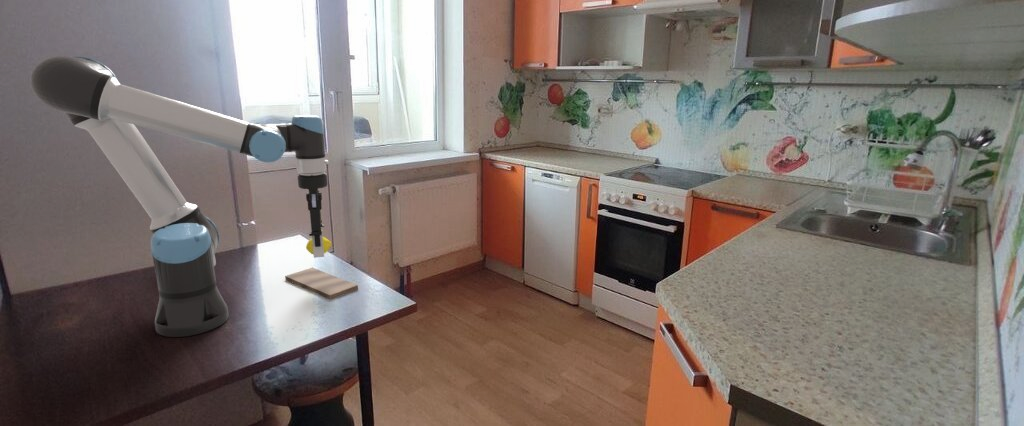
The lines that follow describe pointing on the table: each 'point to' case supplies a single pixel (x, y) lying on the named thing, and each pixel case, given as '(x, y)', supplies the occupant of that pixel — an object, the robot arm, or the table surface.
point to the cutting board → (321, 283)
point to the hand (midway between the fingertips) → (319, 253)
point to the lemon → (325, 245)
